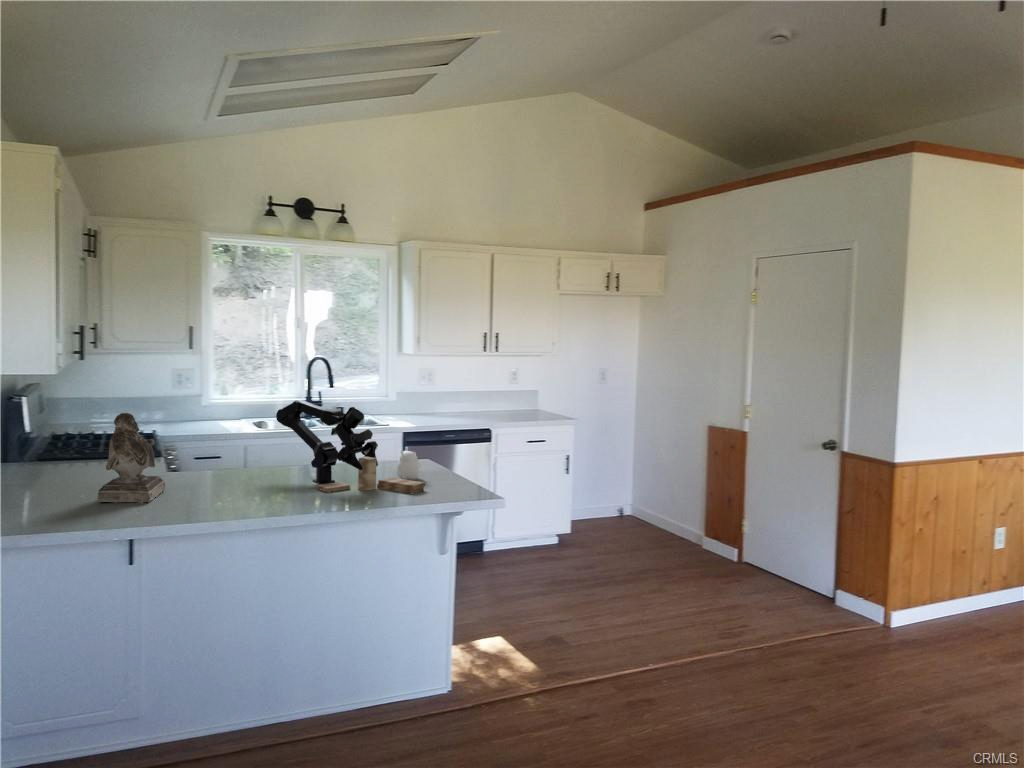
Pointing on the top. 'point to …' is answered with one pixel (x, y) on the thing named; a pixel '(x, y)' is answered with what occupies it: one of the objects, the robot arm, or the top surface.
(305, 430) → the robot arm
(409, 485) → the plank stack
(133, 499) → the sculpture
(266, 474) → the top surface
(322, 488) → the loose offcut
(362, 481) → the upright offcut
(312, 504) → the top surface
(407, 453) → the figurine
